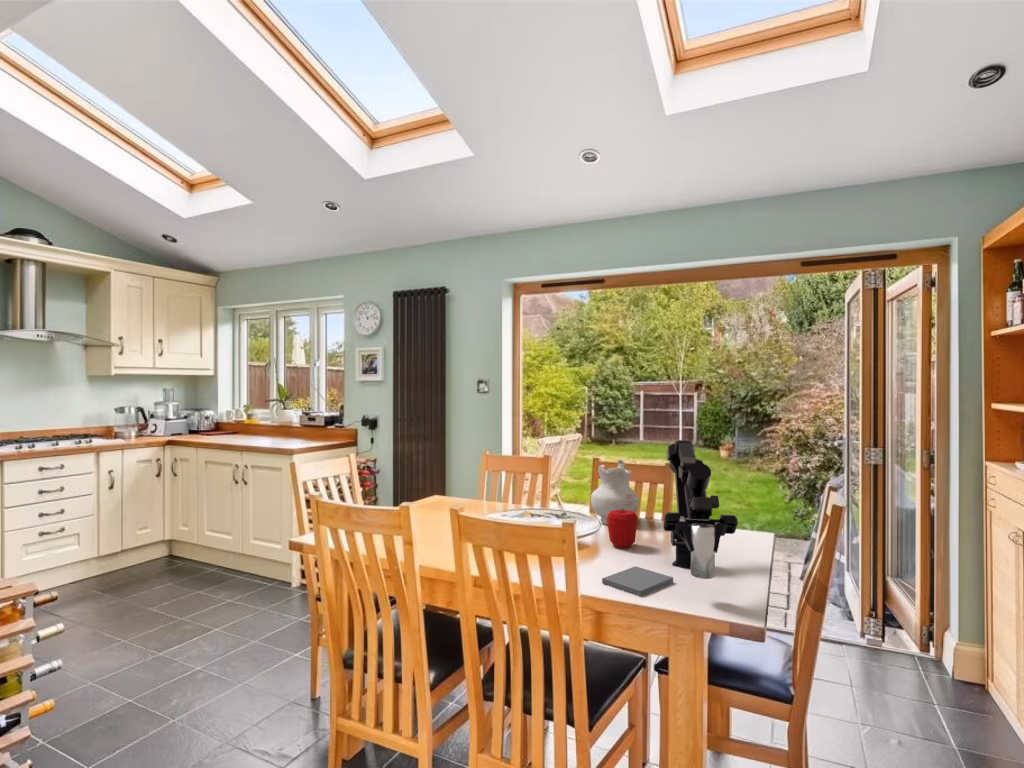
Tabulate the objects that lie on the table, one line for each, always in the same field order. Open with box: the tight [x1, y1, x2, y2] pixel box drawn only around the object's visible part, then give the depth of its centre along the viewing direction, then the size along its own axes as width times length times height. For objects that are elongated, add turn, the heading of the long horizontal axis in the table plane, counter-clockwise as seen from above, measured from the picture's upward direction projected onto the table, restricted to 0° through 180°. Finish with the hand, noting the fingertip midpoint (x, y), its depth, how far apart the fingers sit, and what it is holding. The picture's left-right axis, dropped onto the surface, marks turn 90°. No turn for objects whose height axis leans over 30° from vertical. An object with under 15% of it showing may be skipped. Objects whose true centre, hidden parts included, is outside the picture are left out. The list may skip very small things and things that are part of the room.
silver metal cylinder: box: [690, 523, 716, 580], centre depth 150 cm, size 6×6×13 cm
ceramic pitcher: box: [590, 458, 640, 526], centre depth 234 cm, size 22×20×25 cm
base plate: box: [601, 565, 674, 597], centre depth 162 cm, size 16×13×2 cm
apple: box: [607, 508, 639, 549], centre depth 199 cm, size 10×10×14 cm
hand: (703, 551), depth 149 cm, fingers closed on silver metal cylinder, 6 cm apart
